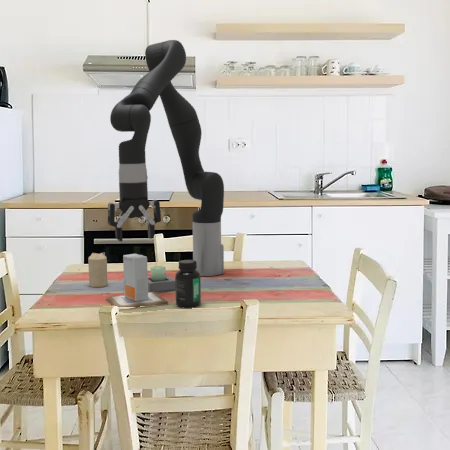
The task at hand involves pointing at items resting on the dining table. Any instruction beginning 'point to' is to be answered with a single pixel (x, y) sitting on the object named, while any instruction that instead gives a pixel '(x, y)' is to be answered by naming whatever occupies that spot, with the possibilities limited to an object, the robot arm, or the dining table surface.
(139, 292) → the skincare box
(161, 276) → the button
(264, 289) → the dining table surface
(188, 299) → the supplement bottle
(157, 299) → the board
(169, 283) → the button housing
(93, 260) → the candle
